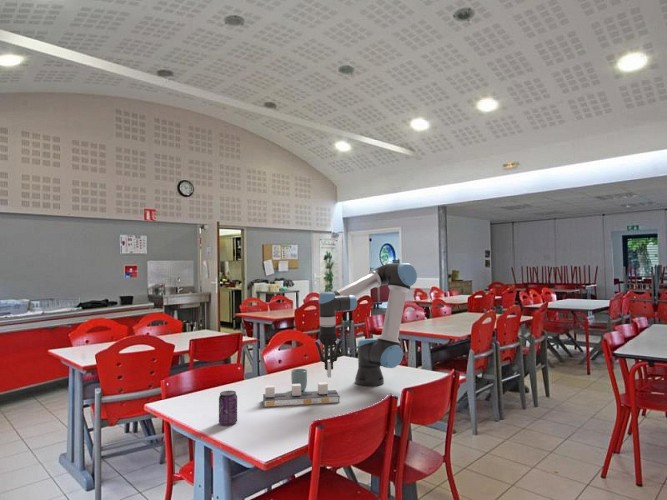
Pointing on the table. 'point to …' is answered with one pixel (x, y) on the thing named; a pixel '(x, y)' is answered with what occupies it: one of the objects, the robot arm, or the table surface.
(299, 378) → the cup
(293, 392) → the slider
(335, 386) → the table surface
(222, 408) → the beverage can
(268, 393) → the slider
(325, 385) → the slider
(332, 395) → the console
